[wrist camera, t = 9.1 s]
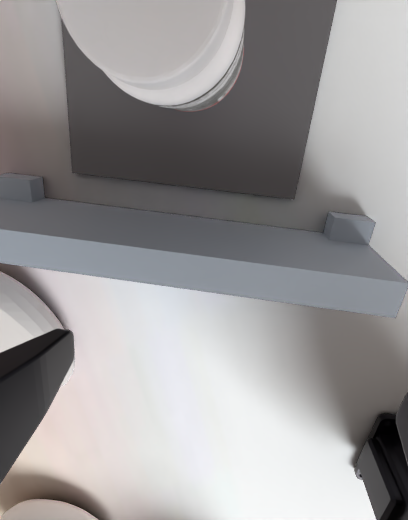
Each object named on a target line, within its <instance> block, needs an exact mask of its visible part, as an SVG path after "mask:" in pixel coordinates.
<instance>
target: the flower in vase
mask: <svg viewBox="0 0 408 520" xmlns="http://www.w3.org/2000/svg"><path fill="white" fill-rule="evenodd" d="M1 520H98V519H97V518H95V517H94V516H93V515H91V514H90V513H88V512H87V511H85V510H83V509H81V508H79V507H77V506H74V505H71V504H69V503H65V502H62V501H56V500H47V499H32V500H26V501H23V502H20V503H18V504H16V505H15V506H13V507H12V508H10V509H9V510H7V511H6V512H5V513H4V514H3V516H2V517H1Z"/></svg>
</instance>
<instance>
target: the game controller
mask: <svg viewBox="0 0 408 520" xmlns="http://www.w3.org/2000/svg"><path fill="white" fill-rule="evenodd" d="M57 328H60V329H64V328H63V326H62V325H61V323H60V322H59V320H58V319H57V318H56V316H55V315H54V314H53V312H52V311H51V310H50V309H49V308H48V307H47V305H46V304H45V303H44V302H43V301H42V300H41V299H40V298H39V297H37V296H36V295H35V294H34V293H33V292H32V291H31V290H29V289H28V288H27V287H25V286H24V285H23V284H21V283H20V282H18V281H17V280H15V279H14V278H12V277H10V276H9V275H7V274H5V273H3V272H1V271H0V353H1V352H3V351H5V350H8V349H10V348H12V347H15V346H17V345H19V344H22V343H24V342H26V341H29V340H31V339H33V338H36V337H38V336H40V335H43V334H45V333H47V332H50V331H52V330H54V329H57ZM74 366H75V357H74V360H73V363H72V365H71V367H70V369H69V371H68V372H67V374H66V376H65V378H64V380H63V382H62V384H61V386H63V385H66V383H67V382H68V380H69V378H70V377H71V375H72V373H73V371H74ZM61 386H60V387H61Z"/></svg>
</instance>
